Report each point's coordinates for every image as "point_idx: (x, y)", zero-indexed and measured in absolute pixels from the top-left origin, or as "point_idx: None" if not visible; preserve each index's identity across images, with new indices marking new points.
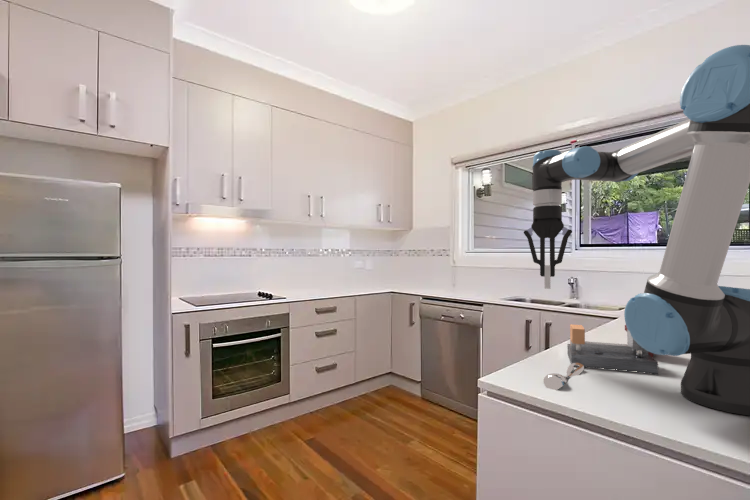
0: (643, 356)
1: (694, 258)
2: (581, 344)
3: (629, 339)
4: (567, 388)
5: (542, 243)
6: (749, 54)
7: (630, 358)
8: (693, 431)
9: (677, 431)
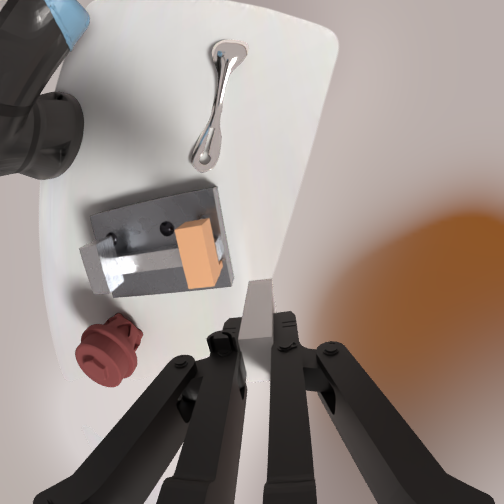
0: None
1: None
2: None
3: (113, 267)
4: None
5: (290, 465)
6: None
7: (120, 218)
8: (101, 21)
9: (113, 11)
